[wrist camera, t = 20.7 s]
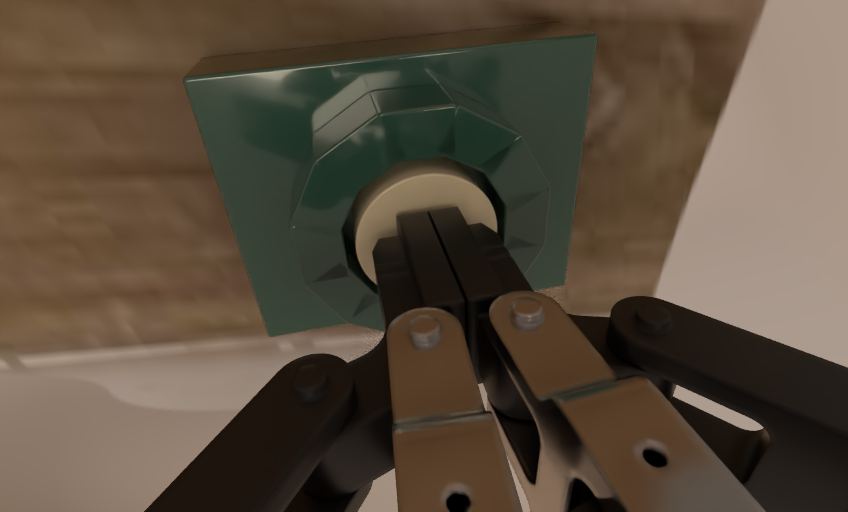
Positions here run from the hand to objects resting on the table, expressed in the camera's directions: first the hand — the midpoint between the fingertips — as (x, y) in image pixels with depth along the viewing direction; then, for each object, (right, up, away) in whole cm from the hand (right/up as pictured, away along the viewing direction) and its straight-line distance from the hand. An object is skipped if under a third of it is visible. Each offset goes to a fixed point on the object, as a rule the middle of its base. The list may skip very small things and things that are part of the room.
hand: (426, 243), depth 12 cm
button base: (-1, +2, +3) cm, 4 cm away
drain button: (0, +1, +1) cm, 2 cm away
